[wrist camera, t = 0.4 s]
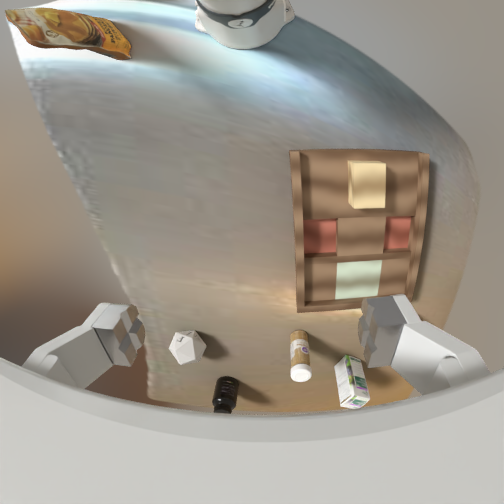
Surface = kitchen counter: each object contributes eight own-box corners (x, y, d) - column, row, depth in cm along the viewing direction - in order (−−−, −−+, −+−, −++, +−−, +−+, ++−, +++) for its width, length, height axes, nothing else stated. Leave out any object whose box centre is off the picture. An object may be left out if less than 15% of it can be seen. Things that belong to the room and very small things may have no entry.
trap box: (289, 150, 48) (290, 152, 44) (418, 151, 45) (429, 154, 41) (296, 300, 62) (297, 312, 58) (404, 291, 59) (411, 302, 55)
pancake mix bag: (119, 76, 43) (21, 61, 18) (84, 32, 38) (-1, 11, 12) (142, 54, 41) (51, 20, 16) (104, 12, 36) (23, -21, 10)
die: (214, 333, 69) (191, 338, 60) (209, 364, 69) (187, 372, 60) (188, 324, 73) (164, 328, 64) (184, 354, 72) (160, 361, 63)
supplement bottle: (235, 391, 79) (230, 422, 68) (214, 385, 78) (207, 415, 67) (242, 379, 76) (237, 411, 65) (219, 373, 75) (212, 405, 64)
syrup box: (361, 358, 69) (371, 398, 56) (348, 371, 71) (356, 411, 58) (345, 353, 68) (355, 395, 55) (333, 366, 71) (339, 407, 58)
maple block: (347, 160, 46) (353, 163, 42) (378, 160, 45) (385, 163, 41) (348, 202, 49) (353, 208, 45) (377, 202, 48) (384, 207, 45)
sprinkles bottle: (310, 331, 66) (315, 371, 54) (303, 344, 68) (307, 384, 55) (293, 327, 66) (295, 368, 53) (287, 340, 67) (287, 381, 55)
